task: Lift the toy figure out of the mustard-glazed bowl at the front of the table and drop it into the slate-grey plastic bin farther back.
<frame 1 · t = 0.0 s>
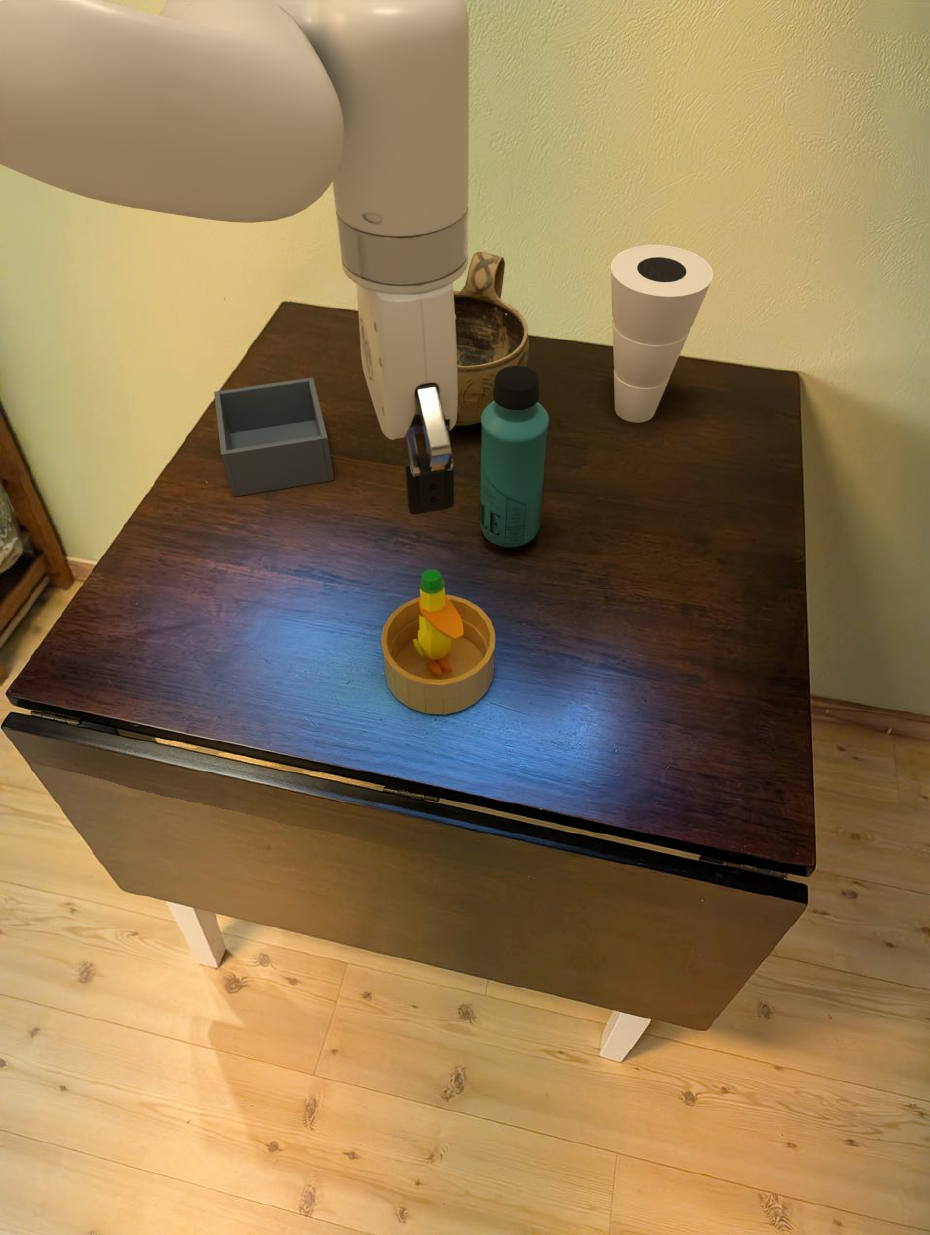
hand: (416, 464, 62), 22 cm above the table, tool pointing down, fingers open, 9 cm apart
mustard bowl: (439, 670, 78), on the table
ceramic bowl: (455, 408, 103), on the table
toy figure: (439, 669, 78), resting on mustard bowl
grey bin: (278, 456, 97), on the table
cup: (634, 411, 103), on the table
beverage bottle: (508, 538, 89), on the table
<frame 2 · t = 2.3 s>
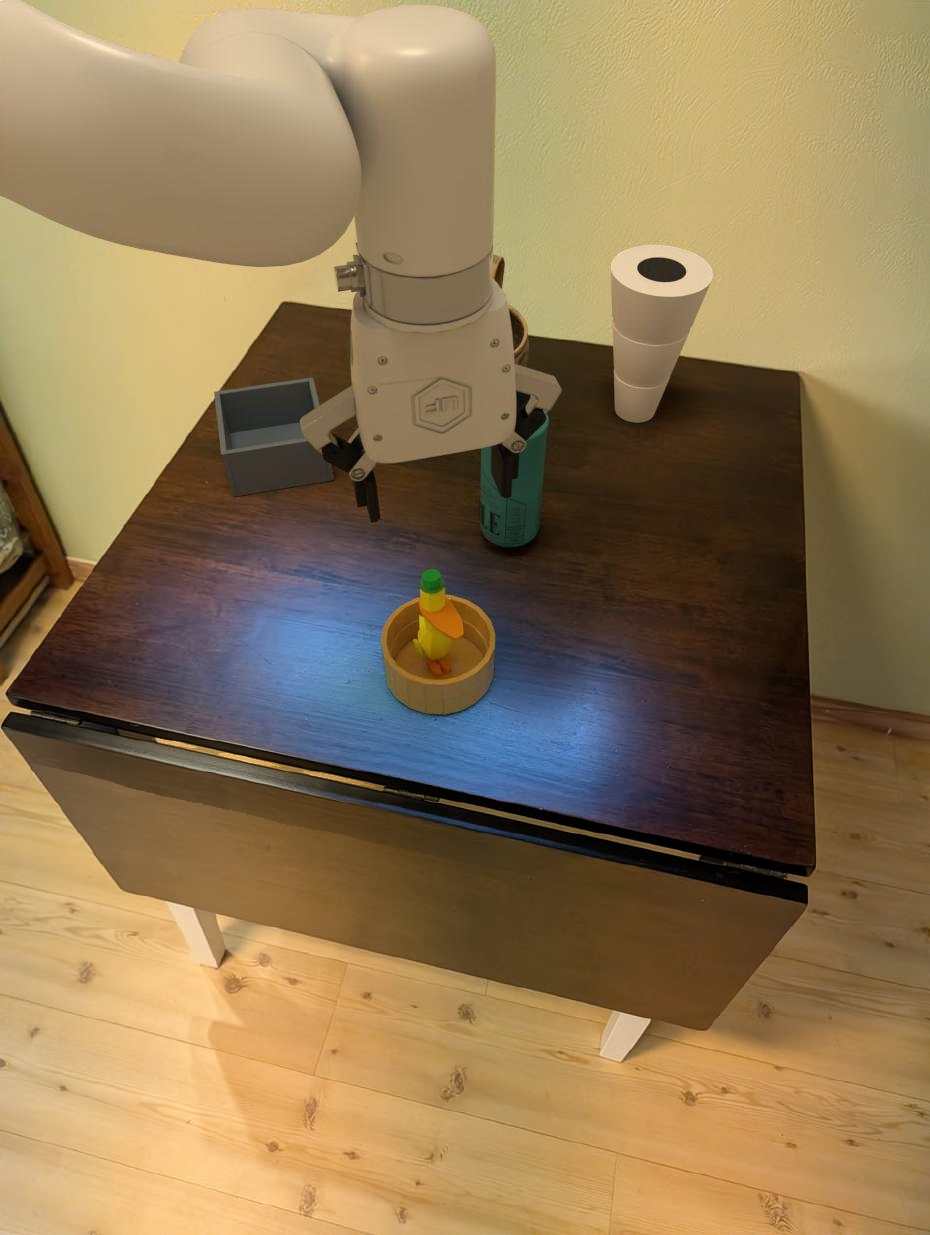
hand: (437, 497, 61), 22 cm above the table, tool pointing down, fingers open, 9 cm apart
nothing on the table moved.
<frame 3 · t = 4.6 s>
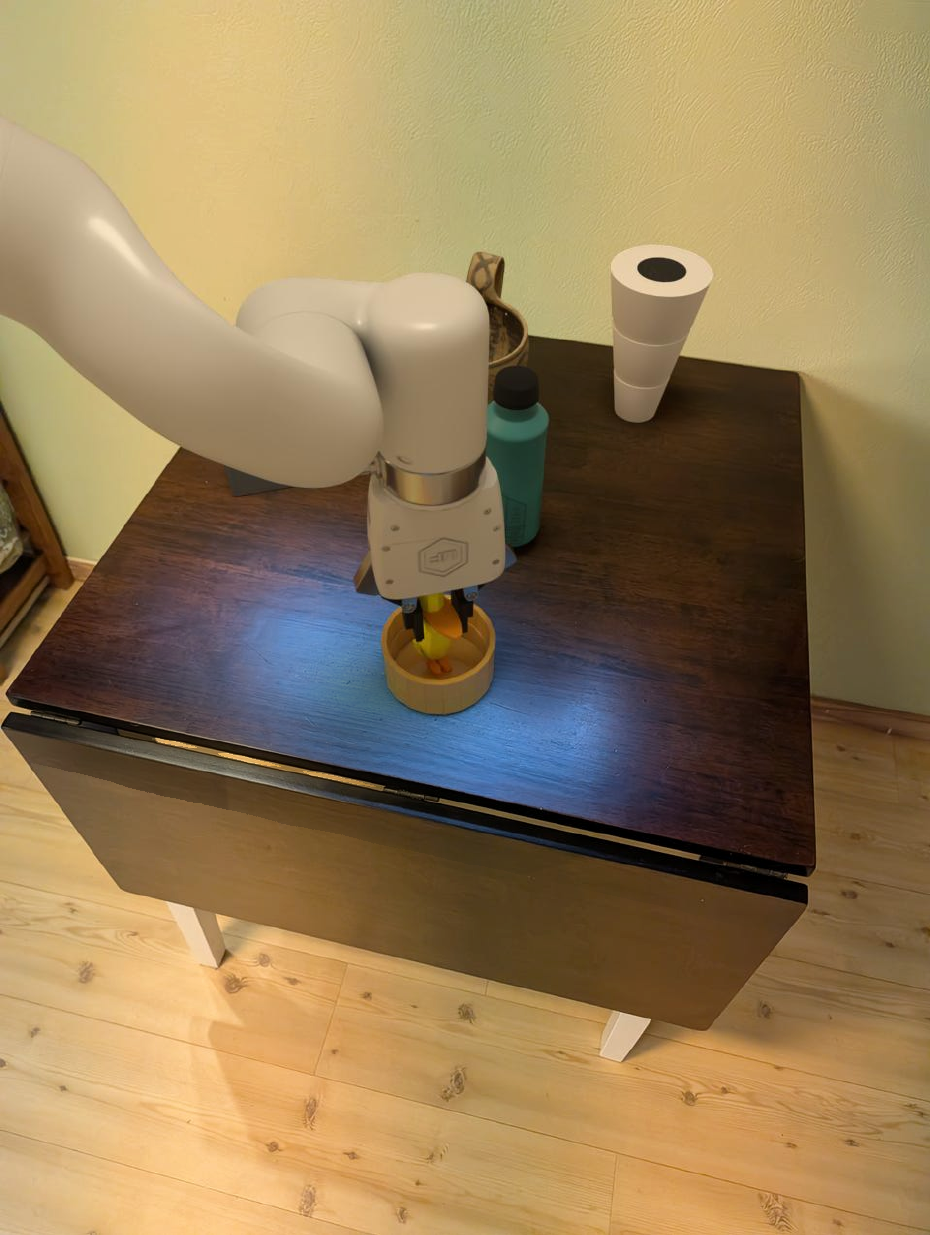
hand: (438, 623, 73), 7 cm above the table, tool pointing down, fingers closed on toy figure, 3 cm apart
toy figure: (439, 669, 78), resting on mustard bowl, touching gripper
everything else where it was.
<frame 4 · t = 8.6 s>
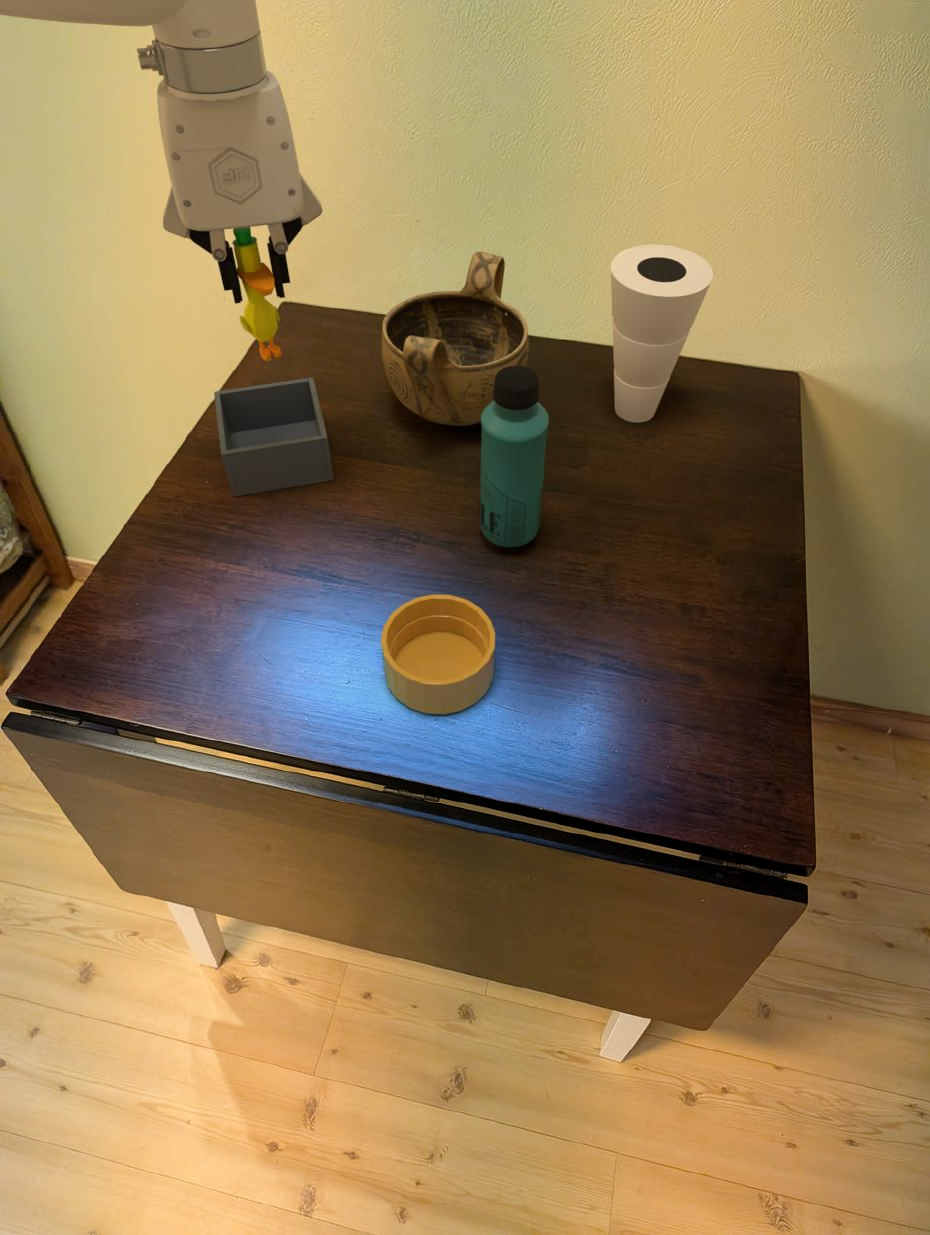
hand: (258, 291, 76), 23 cm above the table, tool pointing down, fingers closed on toy figure, 3 cm apart
toy figure: (271, 356, 82), point 16 cm above the table, touching gripper
everything else where it was.
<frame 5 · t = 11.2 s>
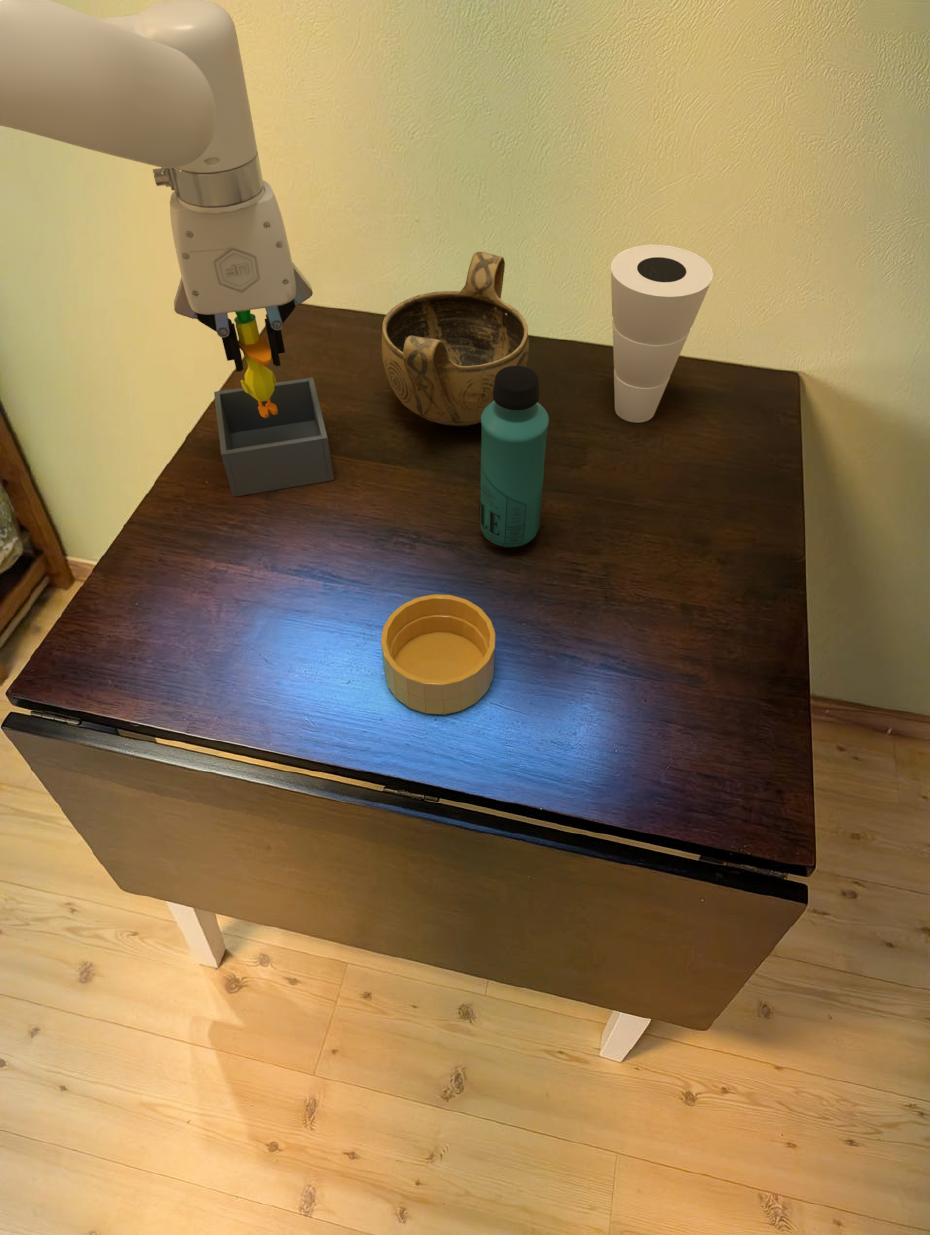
hand: (257, 359, 87), 13 cm above the table, tool pointing down, fingers closed on toy figure, 3 cm apart
toy figure: (268, 413, 92), point 6 cm above the table, touching gripper
everything else where it was.
when the fingers open (7 cm above the table, at t = 12.9 s): toy figure stays where it is, resting on grey bin.
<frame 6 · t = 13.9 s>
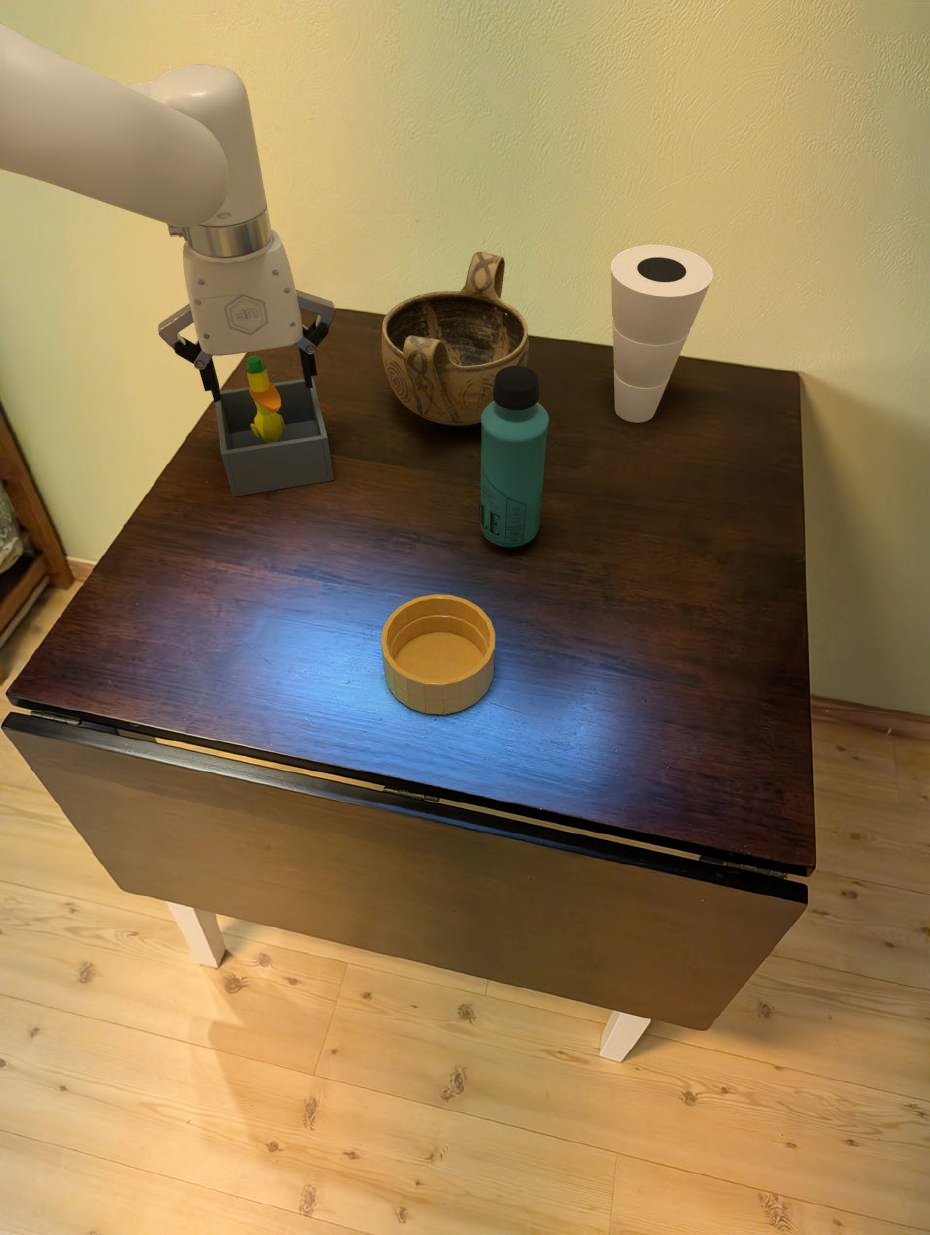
hand: (262, 387, 90), 9 cm above the table, tool pointing down, fingers open, 9 cm apart
toy figure: (276, 455, 97), resting on grey bin
everything else where it was.
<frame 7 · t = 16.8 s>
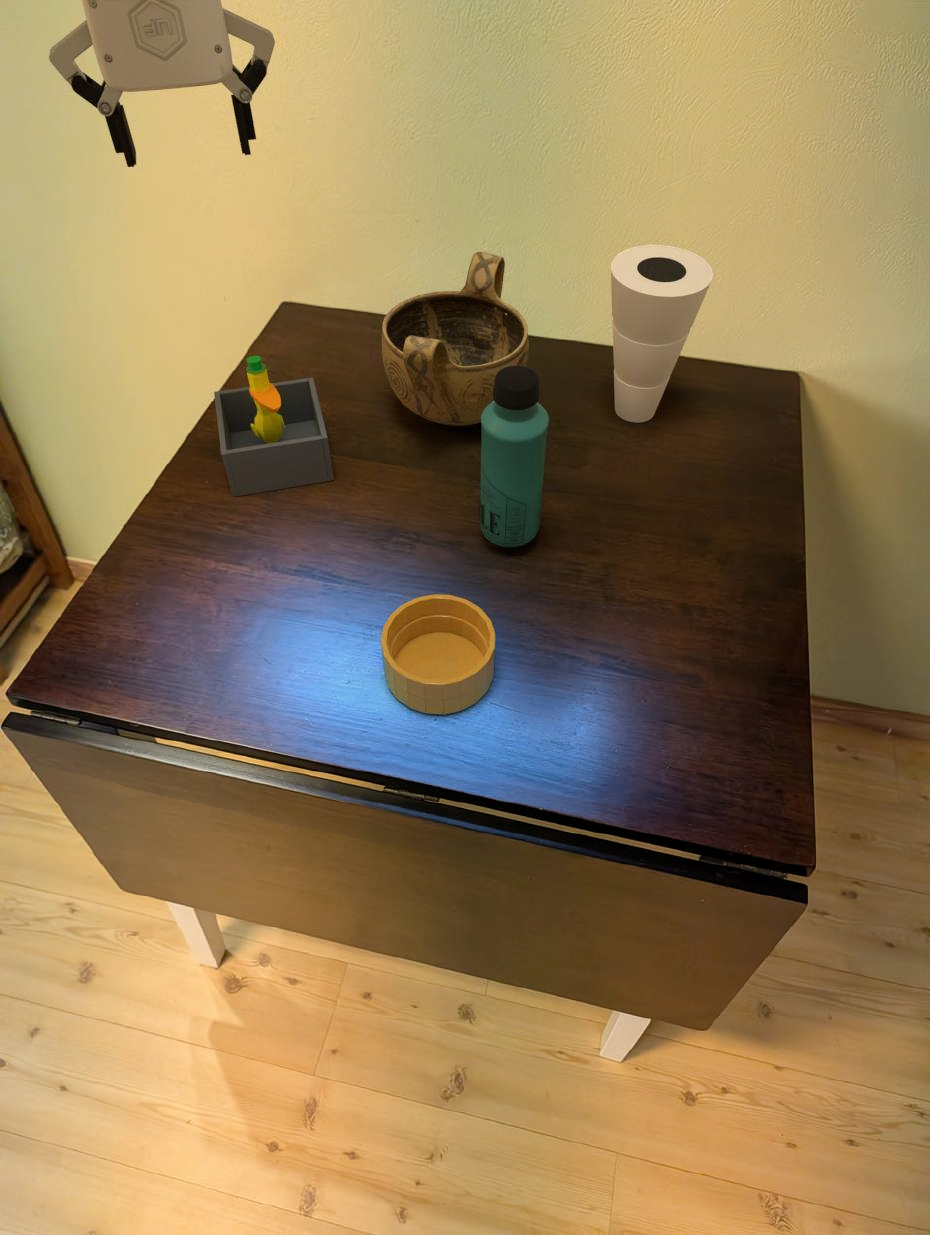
hand: (189, 154, 73), 32 cm above the table, tool pointing down, fingers open, 9 cm apart
nothing on the table moved.
at the end: toy figure inside the target area in the grey bin (0.1 cm from its centre), point 0.3 cm above the grey bin's base; the gripper is holding nothing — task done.
